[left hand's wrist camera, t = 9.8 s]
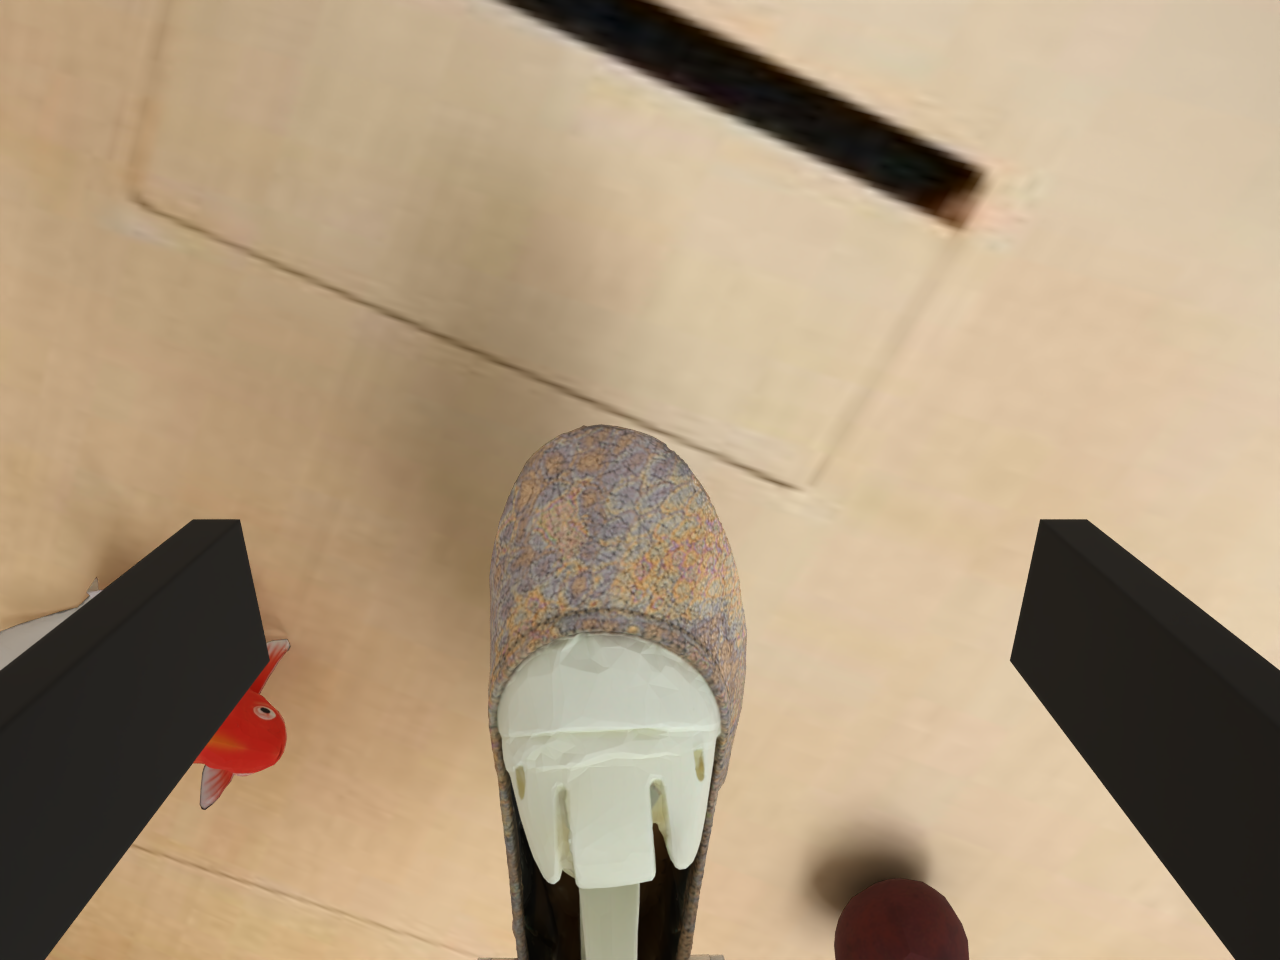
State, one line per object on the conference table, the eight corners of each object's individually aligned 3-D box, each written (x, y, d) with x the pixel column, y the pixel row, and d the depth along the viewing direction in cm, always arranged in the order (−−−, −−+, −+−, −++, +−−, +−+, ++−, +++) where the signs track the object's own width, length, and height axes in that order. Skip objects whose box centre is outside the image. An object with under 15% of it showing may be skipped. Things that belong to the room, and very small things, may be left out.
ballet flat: (748, 404, 23) (807, 536, 15) (726, 950, 33) (756, 1191, 25) (468, 411, 23) (389, 546, 15) (531, 955, 33) (503, 1199, 25)
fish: (247, 871, 39) (72, 961, 29) (51, 684, 43) (-162, 709, 33) (369, 695, 39) (236, 727, 30) (165, 524, 43) (-14, 502, 33)
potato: (799, 919, 48) (826, 1038, 41) (867, 833, 45) (908, 945, 39) (897, 955, 49) (940, 1075, 42) (969, 873, 46) (1026, 988, 40)
